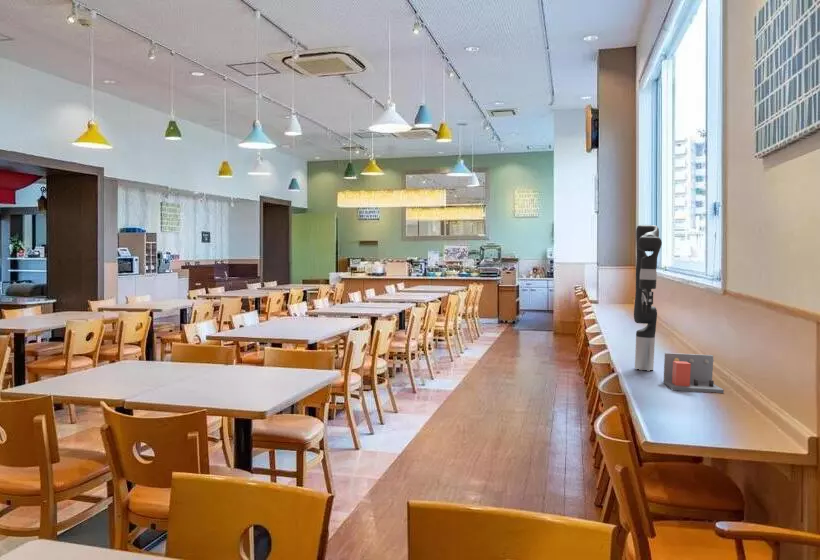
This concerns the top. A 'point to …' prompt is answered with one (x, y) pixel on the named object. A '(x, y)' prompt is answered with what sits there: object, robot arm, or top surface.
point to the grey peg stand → (692, 372)
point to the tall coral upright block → (681, 373)
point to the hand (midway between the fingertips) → (646, 312)
